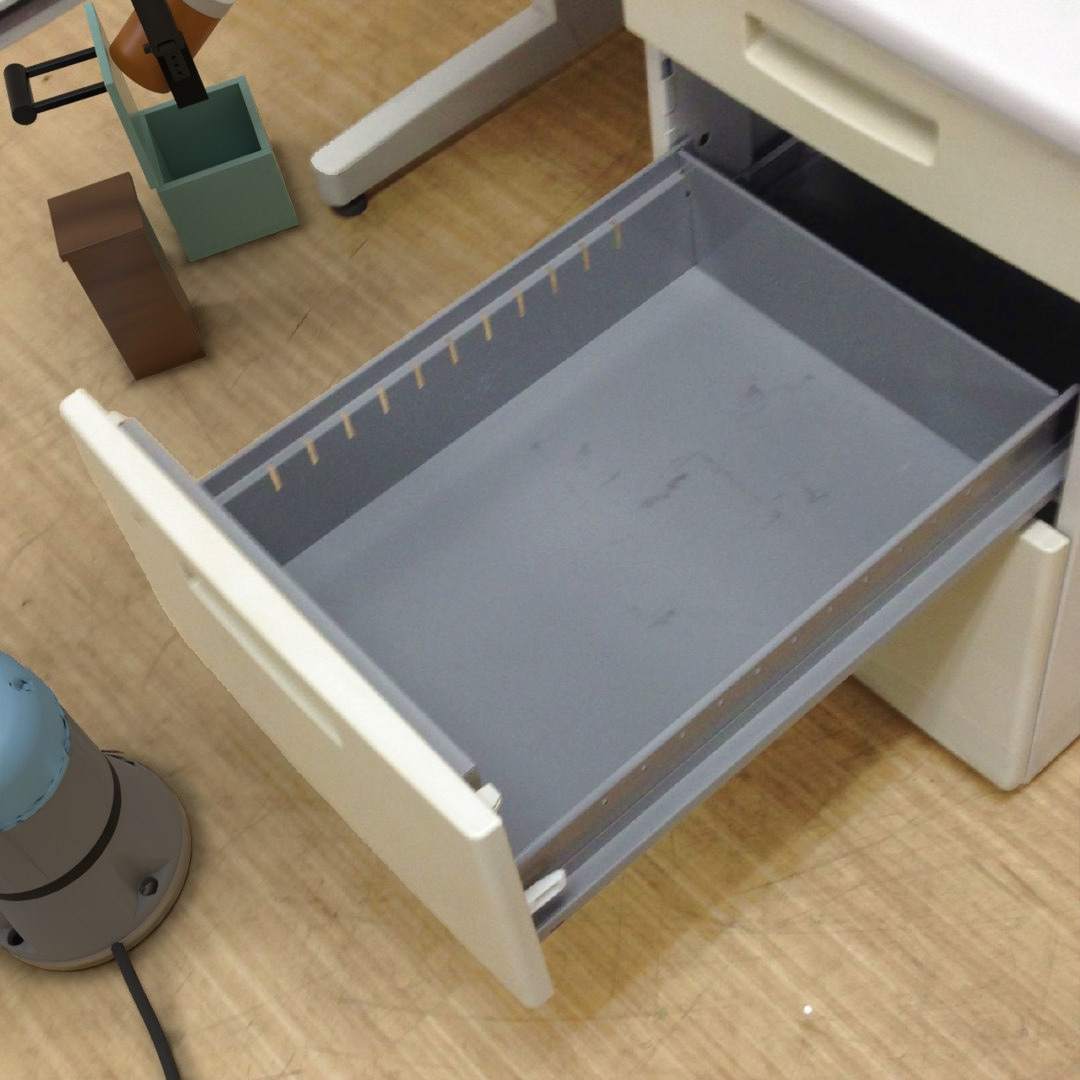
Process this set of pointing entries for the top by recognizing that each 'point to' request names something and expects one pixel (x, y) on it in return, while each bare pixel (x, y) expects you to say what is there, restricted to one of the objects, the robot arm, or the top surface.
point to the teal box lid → (82, 91)
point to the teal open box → (217, 170)
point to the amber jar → (196, 15)
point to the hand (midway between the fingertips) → (185, 77)
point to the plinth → (126, 275)
